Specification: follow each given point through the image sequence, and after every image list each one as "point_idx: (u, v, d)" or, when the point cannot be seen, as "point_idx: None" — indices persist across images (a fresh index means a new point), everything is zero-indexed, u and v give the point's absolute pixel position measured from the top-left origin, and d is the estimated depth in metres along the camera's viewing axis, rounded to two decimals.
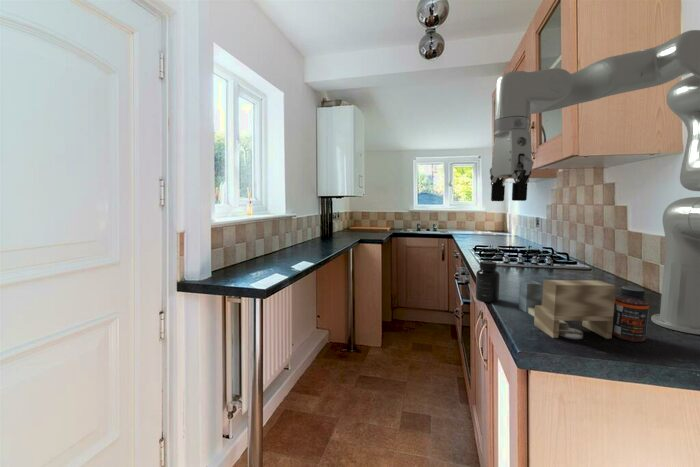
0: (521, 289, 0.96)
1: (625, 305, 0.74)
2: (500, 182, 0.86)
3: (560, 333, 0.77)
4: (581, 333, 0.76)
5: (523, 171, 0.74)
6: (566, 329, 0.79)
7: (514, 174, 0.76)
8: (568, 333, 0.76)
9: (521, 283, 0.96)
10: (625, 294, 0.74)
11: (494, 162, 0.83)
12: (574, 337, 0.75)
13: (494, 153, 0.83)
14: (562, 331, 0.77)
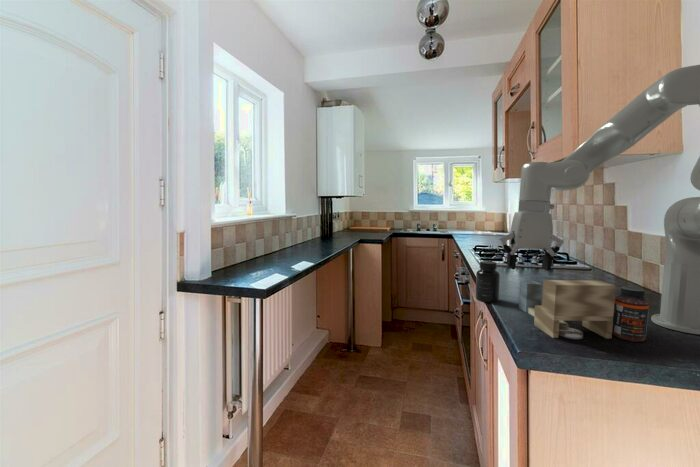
0: (521, 289, 0.96)
1: (625, 305, 0.74)
2: None
3: (560, 333, 0.77)
4: (581, 333, 0.76)
5: (559, 248, 0.93)
6: (566, 329, 0.79)
7: (550, 249, 0.93)
8: (568, 333, 0.76)
9: (521, 283, 0.96)
10: (625, 294, 0.74)
11: (525, 235, 0.91)
12: (574, 337, 0.75)
13: (525, 227, 0.91)
14: (562, 331, 0.77)
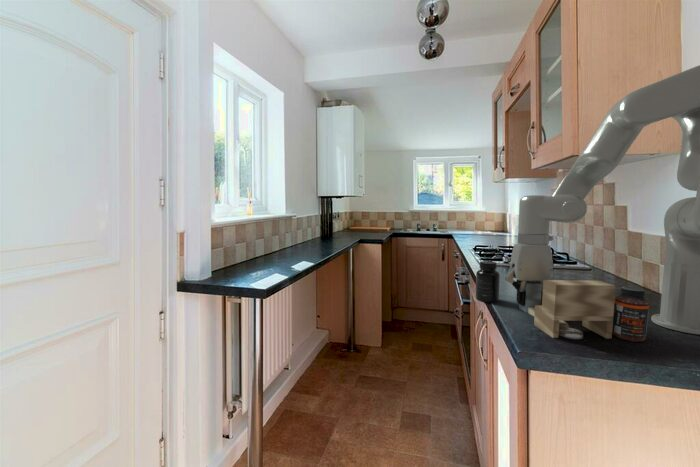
0: None
1: (625, 305, 0.74)
2: None
3: (560, 333, 0.77)
4: (581, 333, 0.76)
5: None
6: (566, 329, 0.79)
7: None
8: (568, 333, 0.76)
9: None
10: (625, 294, 0.74)
11: (525, 268, 0.92)
12: (574, 337, 0.75)
13: (524, 260, 0.92)
14: (562, 331, 0.77)
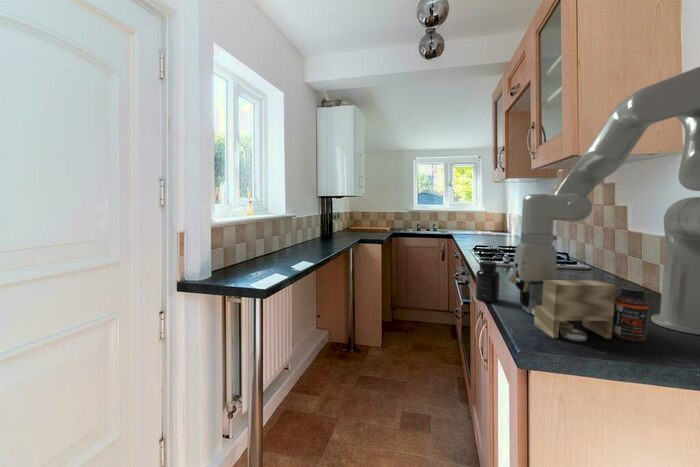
0: None
1: (624, 305, 0.74)
2: None
3: (564, 334, 0.76)
4: (585, 334, 0.75)
5: None
6: (570, 330, 0.77)
7: None
8: (572, 334, 0.75)
9: None
10: (625, 294, 0.74)
11: (528, 268, 0.90)
12: (578, 338, 0.74)
13: (528, 260, 0.90)
14: (566, 333, 0.75)
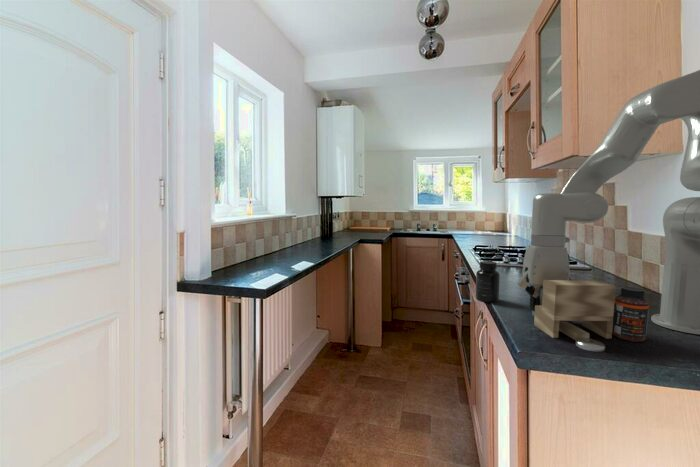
0: None
1: (625, 305, 0.74)
2: None
3: (580, 345, 0.70)
4: (603, 345, 0.69)
5: None
6: (585, 340, 0.72)
7: None
8: (589, 345, 0.69)
9: None
10: (625, 294, 0.74)
11: (539, 272, 0.85)
12: (596, 350, 0.68)
13: (539, 264, 0.85)
14: (582, 343, 0.70)
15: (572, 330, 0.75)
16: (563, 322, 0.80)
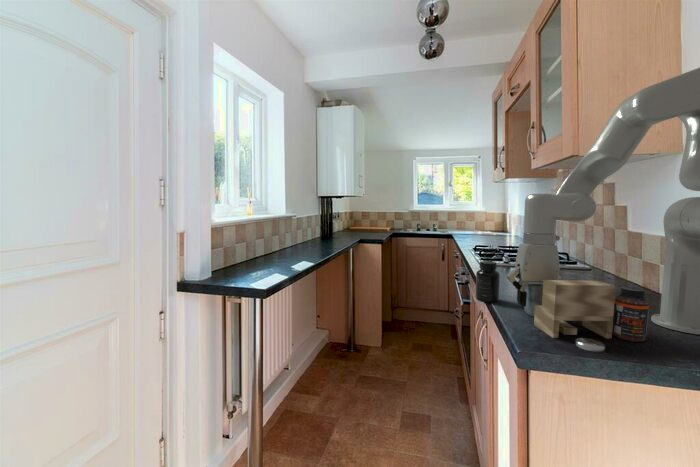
0: (527, 292, 0.93)
1: (625, 305, 0.74)
2: None
3: (580, 345, 0.70)
4: (603, 345, 0.69)
5: None
6: (585, 340, 0.72)
7: None
8: (589, 345, 0.69)
9: (527, 286, 0.93)
10: (625, 294, 0.74)
11: (531, 269, 0.89)
12: (596, 350, 0.68)
13: (530, 261, 0.89)
14: (582, 343, 0.70)
15: (561, 325, 0.79)
16: None
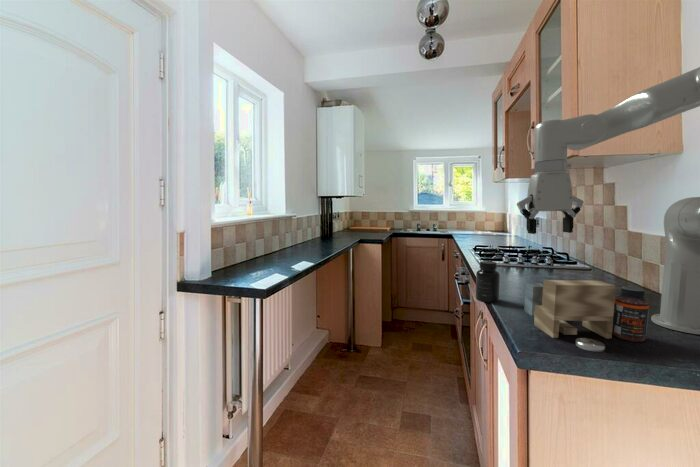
0: (527, 292, 0.93)
1: (625, 305, 0.74)
2: None
3: (580, 345, 0.70)
4: (603, 345, 0.69)
5: (579, 208, 0.90)
6: (585, 340, 0.72)
7: (571, 210, 0.89)
8: (589, 345, 0.69)
9: (527, 285, 0.93)
10: (625, 294, 0.74)
11: (544, 197, 0.88)
12: (596, 350, 0.68)
13: (543, 189, 0.88)
14: (582, 343, 0.70)
15: (561, 325, 0.79)
16: None
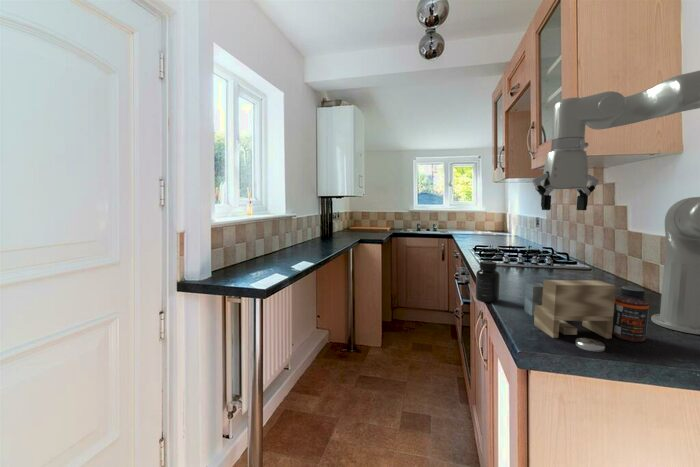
0: (527, 292, 0.93)
1: (625, 305, 0.74)
2: None
3: (580, 345, 0.70)
4: (603, 345, 0.69)
5: (594, 187, 0.91)
6: (585, 340, 0.72)
7: (585, 188, 0.91)
8: (589, 345, 0.69)
9: (527, 286, 0.93)
10: (625, 294, 0.74)
11: (560, 174, 0.90)
12: (596, 350, 0.68)
13: (559, 166, 0.90)
14: (582, 343, 0.70)
15: (561, 325, 0.79)
16: None
